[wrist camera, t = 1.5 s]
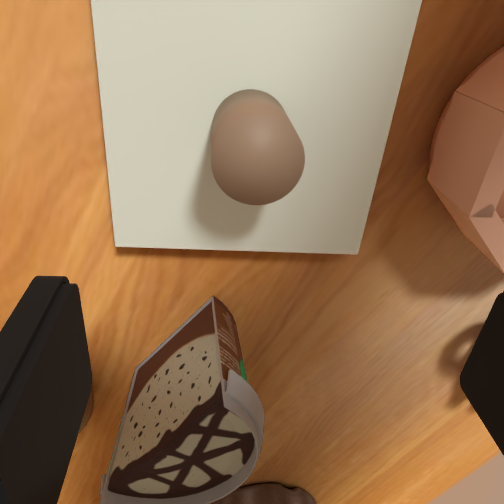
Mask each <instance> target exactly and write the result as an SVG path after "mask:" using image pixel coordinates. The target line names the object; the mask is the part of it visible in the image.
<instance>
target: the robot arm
mask: <svg viewBox="0 0 504 504" xmlns="http://www.w3.org/2000/svg"><path fill="white" fill-rule="evenodd" d="M460 385H461V388H462V390H463V392H464V393H465V395H466V396H467V398H468V400H469V401H470V403H471V404H472V406H473V408H474V409H475V411H476V412H477V414H478V416H479V417H480V419H481V420H482V422H483V423H484V425H485V427H486V428H487V430H488V431H489V433H490V435H491V436H492V438H493V439H494V441H495V443H496V444H497V446H498V447H499V449H500V450H501V452H502V454H503V455H504V292H503V293H500V294H499V295H498V296H497V298H496V300H495V302H494V304H493V306H492V309H491V311H490V313H489V315H488V317H487V319H486V321H485V323H484V326H483V328H482V330H481V332H480V334H479V336H478V338H477V340H476V343H475V345H474V347H473V349H472V351H471V353H470V355H469V357H468V359H467V362H466V364H465V366H464V368H463V370H462V372H461V375H460ZM91 388H92V371H91V365H90V358H89V352H88V345H87V339H86V333H85V326H84V320H83V313H82V307H81V301H80V294H79V289H78V286H77V284H70V283H69V280H68V278H67V277H65V276H36V277H35V278H34V279H33V280H32V282H31V283H30V285H29V287H28V288H27V290H26V291H25V293H24V295H23V296H22V298H21V299H20V301H19V303H18V304H17V306H16V307H15V309H14V311H13V312H12V314H11V315H10V317H9V319H8V320H7V322H6V324H5V325H4V327H3V328H2V330H1V332H0V504H57V502H58V498H59V495H60V492H61V489H62V485H63V482H64V479H65V475H66V472H67V469H68V465H69V462H70V459H71V456H72V452H73V449H74V446H75V442H76V439H77V436H78V432H79V429H80V426H81V423H82V419H83V416H84V413H85V409H86V406H87V403H88V399H89V396H90V393H91Z"/></svg>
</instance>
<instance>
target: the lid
mask: <svg viewBox="0 0 504 504" xmlns="http://www.w3.org/2000/svg"><path fill="white" fill-rule="evenodd" d="M421 3H422V0H91V7H92V17H93V27H94V38H95V48H96V58H97V68H98V78H99V88H100V98H101V108H102V118H103V129H104V139H105V149H106V159H107V169H108V179H109V189H110V199H111V210H112V220H113V230H114V240H115V247H141V248H172V249H202V250H233V251H264V252H295V253H325V254H356V255H358V252H359V248H360V244H361V240H362V236H363V232H364V229H365V225H366V221H367V217H368V213H369V209H370V205H371V201H372V197H373V193H374V189H375V185H376V181H377V177H378V173H379V169H380V165H381V161H382V157H383V153H384V149H385V145H386V141H387V138H388V134H389V130H390V126H391V122H392V118H393V114H394V110H395V106H396V102H397V98H398V94H399V90H400V86H401V82H402V78H403V74H404V70H405V66H406V62H407V58H408V54H409V50H410V47H411V43H412V39H413V35H414V31H415V27H416V23H417V19H418V15H419V11H420V7H421Z"/></svg>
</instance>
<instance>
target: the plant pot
mask: <svg viewBox="0 0 504 504" xmlns="http://www.w3.org/2000/svg"><path fill="white" fill-rule="evenodd" d="M215 504H317V503H316V501H315V500H314V498H313V497H312V496H311V495H310V494H309V493H308V492H306V491H304V490H303V489H300V488H297V487H296V488H294V489H293V490H289V489H287V488H285V487H283V486H282V485H281V484H258V485H251V486H247V487H243V488H240V489H237V490H234V491H233V492H232V493H230V494H228V495H227V496H225V497H223V498H221V499H219V500H217V501H216V502H215Z"/></svg>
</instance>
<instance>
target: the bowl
mask: <svg viewBox="0 0 504 504" xmlns="http://www.w3.org/2000/svg"><path fill="white" fill-rule="evenodd" d="M429 161H430V171H429V174H428V177H427V180H428V182H429V183H430V185H431V186H432V188H433V189H434V191H435V192H436V194H437V195H438V197H439V199H440V200H441V202H442V203H443V204H444V206H445V207H446V209H447V210H448V212H449V213H450V215H451V216H452V218H453V219H454V221H455V222H456V224H457V225H458V227H459V229H460V230H461V232H462V233H463V234H464V235H465V236H466V237H467V238H468V239H469V240H470V241H471V242H472V243H473V244H474V245H475V246H476V247H477V248H478V249H479V250H480V251H481V252H482V253H483V254H484V255H485V256H486V257H487V258H488V259H489V260H490V261H491V262H492V263H493V264H494V265H495V266H496V267H497V268H498V269H499V270H500V271H501V272H502V273H503V274H504V46H503V47H501V48H500V49H499V50H497V51H496V52H494V53H493V54H491V55H490V56H489V57H487V58H486V59H485V60H484V61H483V62H482V63H480V64H479V65H478V66H477V67H476V68H475V69H474V70H473V71H472V72H471V73H470V74H469V75H468V76H467V77H466V78H465V79H464V80H463V82H462V83H461V84H460V86H459V87H458V88H457V89H456V90H455V92H454V93H453V95H452V97H451V98H450V100H449V101H448V103H447V104H446V106H445V108H444V110H443V112H442V114H441V116H440V118H439V120H438V123H437V126H436V128H435V131H434V135H433V139H432V143H431V149H430V157H429Z"/></svg>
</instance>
